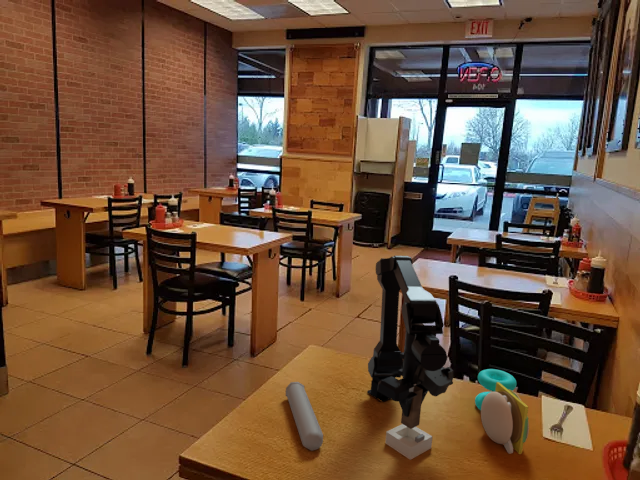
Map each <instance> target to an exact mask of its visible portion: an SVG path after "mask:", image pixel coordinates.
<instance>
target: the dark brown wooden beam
mask: <svg viewBox="0 0 640 480" xmlns="http://www.w3.org/2000/svg"><path fill="white" fill-rule="evenodd" d="M413 392H414V393H416V394H418V395H417V396H415V397H414V398H412V403H411V409H410V413H409V417H406V416H404V414H403V411H401V419H400V424H403V425H405V426H407V427H408V428H410V429H412V428H414V427H418V426H420V422H421V413H422V404H421V402H422V392H423V389H421V388H419V387H417V386H414V389H413ZM422 403H423V402H422Z"/></svg>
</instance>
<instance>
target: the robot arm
mask: <svg viewBox="0 0 640 480" xmlns="http://www.w3.org/2000/svg"><path fill="white" fill-rule="evenodd" d="M375 274H376V280H377V282H378V285H380V288H381V312H380V330H379V331H380V333H379V336H380V337H379V341H378V342H377V343H376V345H375V347H374V348H373V353H372V356H371V358H370V360H369V361H368V363H367V371H368V373H369V376H370V377H371V384H370V389H368V390H367V391H366V393H367V394H369V395H370V396H372V397H373V398H375V399H377V400H378V401H381V402H386V401H389V400H391V401H394V402H398V404H399V406H400V408H401V410H402V411H403V414H404V416H406V417H409V413H410V409H411V403H412V398H414V397H415V396H417V395H418V394H416V393H414V392H413V389H414V386H417V387H419V388H421V389H423V392H422V402H421V405H422V404H423V402H424V400H425V398H426V396H427V394H428V392H429V394H430V395H431V396H433V397H439V395H442V394H445V393H446V392H447V390H448V388H449V386H451V385H453V384H454V381H453V380H454V369H452V368H451V367H450V366H447V367H444V366H445V365H446V363H447V360H448V355H447V351H446V349H445V348H444V347H443V346H442V344H440V339H439V338H438V336H437V335H443V334H444V330H443V329H444V326H445V325H444V320H443V315H442V312H441V308H440V305H439V304H438V302H437V300H436V298H435V297H434V296H433V294H432V293H431V292H429V291H427V290H425V288H423V286H422V284H421V281H420V279H419V277H418V275H417V272H416V271H415V268H414V265H413V258H412V257H411V256H409V255H394V256H390V257H387V258H385V257H384V258H380V259H379V260H378V261H376V263H375ZM400 291H401V294H402V296H403V299H404V300H403V303H402V307H401V314H402V318H403V322H404V323H403V324H404V326H405V338H404V348H403V351H401V350H400V347H399V346H398V341H397V340H398V326H399V325H398V322H399V304H400V303H399V299H400ZM427 324H428V325H427ZM432 324H433V325H432ZM401 377H402V378H401ZM399 378H400V379H399ZM402 411H401V412H402Z"/></svg>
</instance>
